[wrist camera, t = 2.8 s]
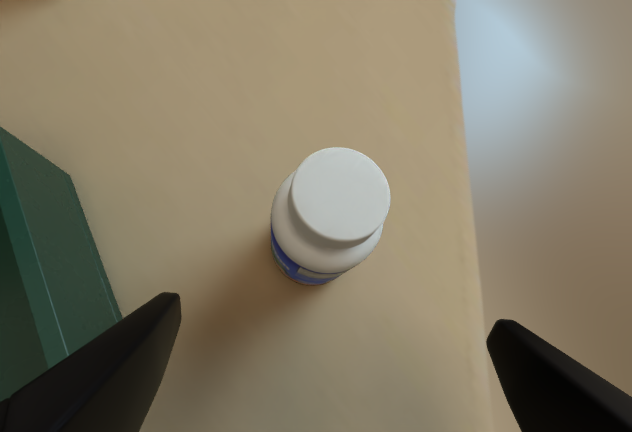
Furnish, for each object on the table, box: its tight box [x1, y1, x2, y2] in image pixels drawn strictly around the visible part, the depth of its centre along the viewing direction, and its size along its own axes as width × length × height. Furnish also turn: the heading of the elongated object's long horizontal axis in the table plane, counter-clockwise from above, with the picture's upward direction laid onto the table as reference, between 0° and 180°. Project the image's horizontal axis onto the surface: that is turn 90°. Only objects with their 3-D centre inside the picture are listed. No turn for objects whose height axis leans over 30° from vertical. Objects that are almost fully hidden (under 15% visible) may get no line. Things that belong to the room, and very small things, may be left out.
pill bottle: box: [271, 147, 390, 285], centre depth 16 cm, size 5×5×10 cm
